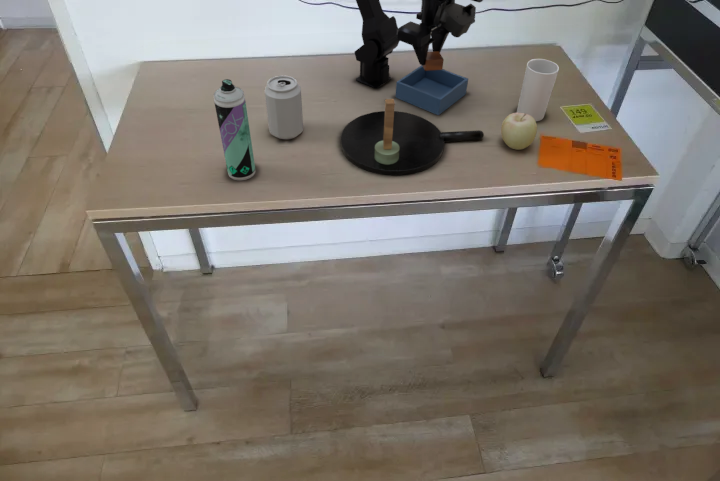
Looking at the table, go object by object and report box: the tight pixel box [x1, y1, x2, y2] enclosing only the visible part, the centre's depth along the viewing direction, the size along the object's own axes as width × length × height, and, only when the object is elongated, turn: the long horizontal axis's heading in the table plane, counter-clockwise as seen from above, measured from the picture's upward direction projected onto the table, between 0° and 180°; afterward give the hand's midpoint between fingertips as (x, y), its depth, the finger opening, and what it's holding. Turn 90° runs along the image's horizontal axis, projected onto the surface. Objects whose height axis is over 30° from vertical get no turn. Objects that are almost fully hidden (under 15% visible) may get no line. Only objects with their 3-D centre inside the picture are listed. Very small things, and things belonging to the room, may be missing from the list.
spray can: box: [213, 78, 256, 181], centre depth 105 cm, size 6×6×20 cm
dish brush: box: [374, 98, 400, 165], centre depth 110 cm, size 5×5×13 cm
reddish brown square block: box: [422, 51, 445, 71], centre depth 125 cm, size 4×4×2 cm
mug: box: [516, 58, 560, 122], centre depth 126 cm, size 10×7×12 cm, turn 7°
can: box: [264, 74, 304, 140], centre depth 119 cm, size 8×8×12 cm
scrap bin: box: [395, 65, 469, 116], centre depth 133 cm, size 12×12×4 cm
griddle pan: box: [340, 110, 485, 176], centre depth 120 cm, size 31×22×2 cm
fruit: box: [500, 112, 538, 151], centre depth 118 cm, size 8×7×8 cm
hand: (429, 60), depth 126 cm, fingers closed on reddish brown square block, 5 cm apart
